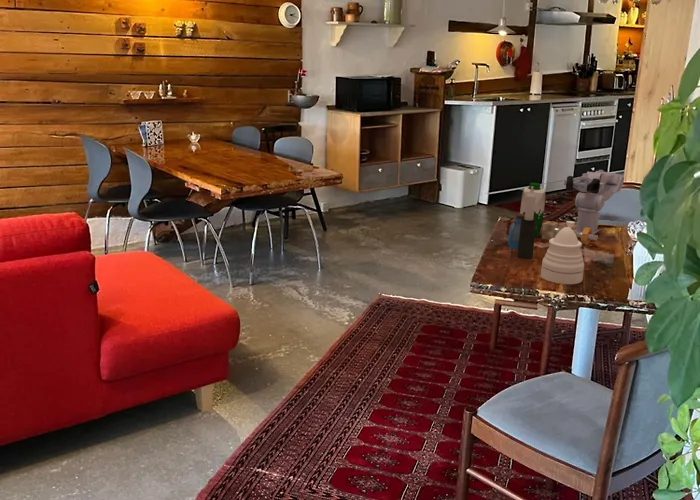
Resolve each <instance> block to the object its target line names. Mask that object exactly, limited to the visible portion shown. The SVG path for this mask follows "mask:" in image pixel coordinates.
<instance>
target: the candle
mask: <svg viewBox="0 0 700 500" xmlns="http://www.w3.org/2000/svg"><path fill="white" fill-rule="evenodd" d="M533 188H534V187H533V186H532V187H531V190H530V192H529V194H528V195H527V200H526V209H525V218H522V219H521V224H520V233H519V243H518V249H517V252H516V253H517V258H519V259H528V260H529V259H531V260H532V259H533V257H534V247H535V240H536V238H535V231H536V220H535V219H533V217H534V208H535V199H536V196H535V194H534V190H533Z"/></svg>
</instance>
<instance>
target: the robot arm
mask: <svg viewBox="0 0 700 500" xmlns="http://www.w3.org/2000/svg"><path fill="white" fill-rule="evenodd" d="M624 180H625V176H623V174H620V173H614V172H608V171H604V170H603V169H598V170H596V171H595V172H594V171H587V172H586V173H582V174H581V176H577V177H575V176H574V175H568V176H567V177H566V179H564V181H563V185H564V186H565V190H566V191H571V192H573V190H574V189H575V190H577V191H579V192H578V193H577V194H576V196H575V201H574V206H575V207H576V208H577V211H578V212H577V213H578V214H577V221H576V228H575V229H572V230H573V231H576V232H583V229H584V228H585V227H587V228H591V229H592V234H593V235H596V234H597V233H599V232H600V229H598V226H599V219H600V214H599V212H601V210H603V208H604V206H605V202H606V201H609V200H610V199H611V197H612V196H613V195H614V194H616V193H619V192H620V191H621V189H622V187H623V184H624ZM588 192H590V193H588Z"/></svg>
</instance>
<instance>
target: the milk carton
mask: <svg viewBox="0 0 700 500" xmlns="http://www.w3.org/2000/svg"><path fill="white" fill-rule="evenodd" d="M532 186H533V187H534V188H533V190H534V194H535V196H536V199H535V208H534V217H533V219H535V220H536V231H535V239H536V238H537V239H538V238H539V237H540V234H541V230H542V228H543V223H544V212H545V203H546V202H545V201H546V189H545V188H541V183H539V182H530V183H529V187H526V186H525V187H524V188H523V191H522V194H521V202H520V212H519V214H524V215H525V209H526V200H527V195H528V194H529V192H530V190H531V187H532ZM524 218H525V217H524Z"/></svg>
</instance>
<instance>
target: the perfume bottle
mask: <svg viewBox="0 0 700 500" xmlns="http://www.w3.org/2000/svg"><path fill="white" fill-rule="evenodd" d="M524 217H525V215H524V214H520V213H516V214H515V217H514V218H515V219H514V220H515V221H513V222H512V223H511V225H509V227H508V237H507V238H508V239H507V245H508V247H509V249H511V250H513V249H514V250H518V243H519V233H520V224H521V219H522V218H524Z"/></svg>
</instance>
